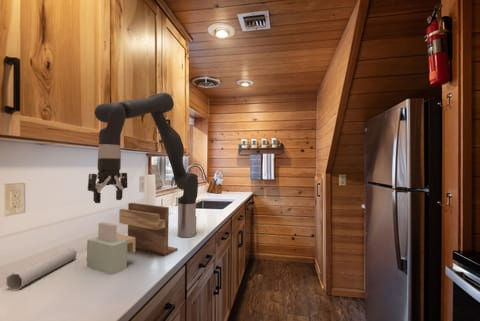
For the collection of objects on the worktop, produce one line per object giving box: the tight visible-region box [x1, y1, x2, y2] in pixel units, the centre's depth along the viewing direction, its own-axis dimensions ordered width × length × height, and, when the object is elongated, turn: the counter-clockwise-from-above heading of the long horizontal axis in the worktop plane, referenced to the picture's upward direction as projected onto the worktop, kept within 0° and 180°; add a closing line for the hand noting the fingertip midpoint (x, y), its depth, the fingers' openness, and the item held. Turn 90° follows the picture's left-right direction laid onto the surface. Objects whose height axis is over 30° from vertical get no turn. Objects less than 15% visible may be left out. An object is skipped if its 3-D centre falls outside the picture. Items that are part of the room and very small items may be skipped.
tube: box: [5, 247, 78, 291], centre depth 87 cm, size 5×5×25 cm
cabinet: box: [86, 222, 136, 276], centre depth 93 cm, size 10×14×16 cm
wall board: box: [118, 202, 179, 257], centre depth 109 cm, size 12×22×20 cm, turn 64°
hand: (108, 201), depth 91 cm, fingers open, 8 cm apart
